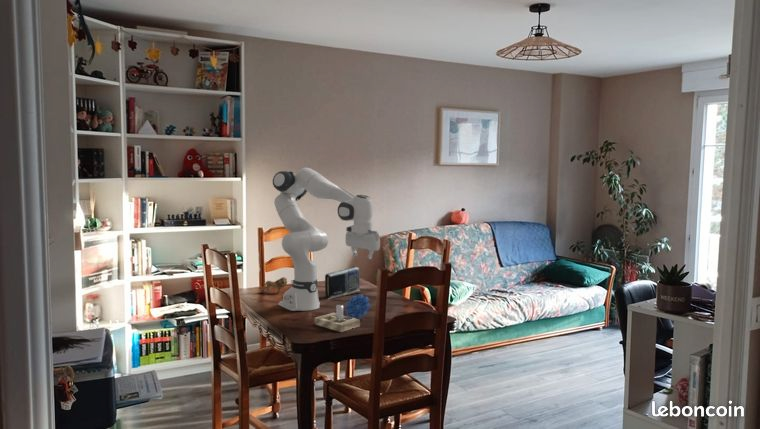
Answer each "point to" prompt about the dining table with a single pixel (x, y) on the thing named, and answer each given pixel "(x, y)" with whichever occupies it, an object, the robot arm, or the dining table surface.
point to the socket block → (331, 323)
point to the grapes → (357, 306)
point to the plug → (339, 313)
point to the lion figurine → (275, 284)
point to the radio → (342, 283)
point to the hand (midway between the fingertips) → (362, 257)
